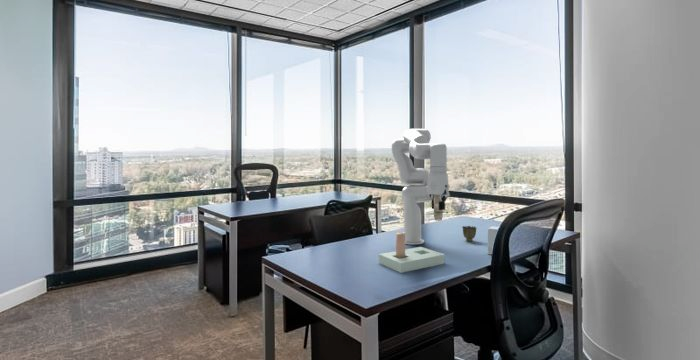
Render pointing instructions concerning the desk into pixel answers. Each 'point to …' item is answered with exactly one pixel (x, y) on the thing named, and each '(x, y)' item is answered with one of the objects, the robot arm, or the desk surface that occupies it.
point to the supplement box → (491, 237)
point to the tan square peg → (400, 245)
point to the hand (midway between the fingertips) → (438, 208)
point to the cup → (469, 233)
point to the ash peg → (437, 209)
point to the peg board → (412, 259)
